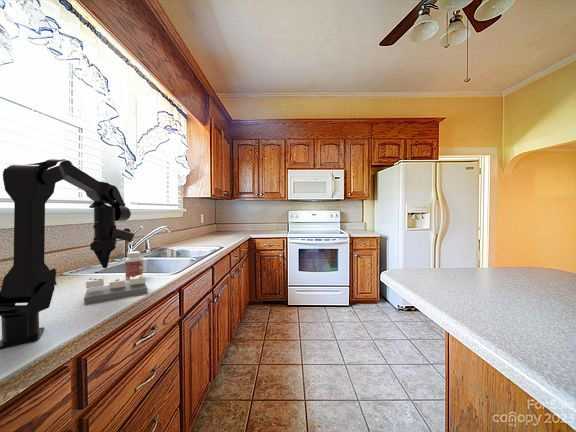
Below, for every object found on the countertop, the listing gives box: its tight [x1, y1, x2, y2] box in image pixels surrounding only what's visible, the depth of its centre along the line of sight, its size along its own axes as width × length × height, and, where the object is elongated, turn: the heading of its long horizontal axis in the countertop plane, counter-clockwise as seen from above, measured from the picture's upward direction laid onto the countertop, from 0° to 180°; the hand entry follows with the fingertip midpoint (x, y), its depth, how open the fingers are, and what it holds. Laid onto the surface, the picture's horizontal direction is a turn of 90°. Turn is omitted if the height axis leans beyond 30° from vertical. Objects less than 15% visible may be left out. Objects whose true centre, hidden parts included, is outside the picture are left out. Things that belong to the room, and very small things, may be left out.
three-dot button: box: [85, 276, 105, 289], centre depth 82 cm, size 4×4×2 cm
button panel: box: [83, 281, 148, 305], centre depth 85 cm, size 11×17×2 cm, turn 125°
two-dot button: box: [129, 274, 146, 285], centre depth 89 cm, size 4×4×2 cm
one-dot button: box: [108, 277, 126, 289], centre depth 85 cm, size 4×4×2 cm
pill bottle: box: [124, 250, 144, 281], centre depth 105 cm, size 6×6×11 cm
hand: (105, 267), depth 83 cm, fingers closed
